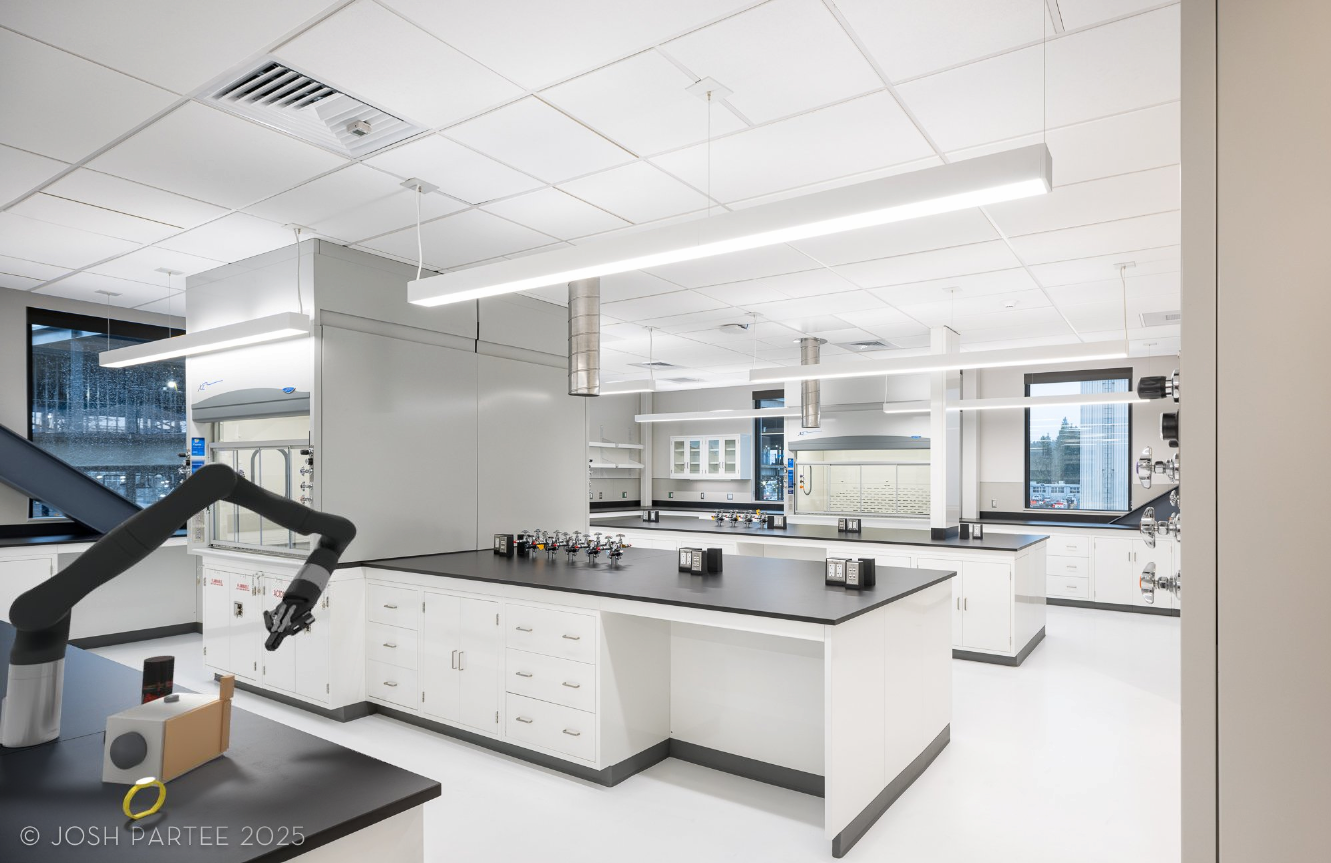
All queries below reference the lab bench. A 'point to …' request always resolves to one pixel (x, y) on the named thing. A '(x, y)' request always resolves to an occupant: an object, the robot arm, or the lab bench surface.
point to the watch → (139, 784)
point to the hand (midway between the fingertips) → (269, 649)
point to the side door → (198, 733)
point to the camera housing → (145, 738)
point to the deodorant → (157, 678)
